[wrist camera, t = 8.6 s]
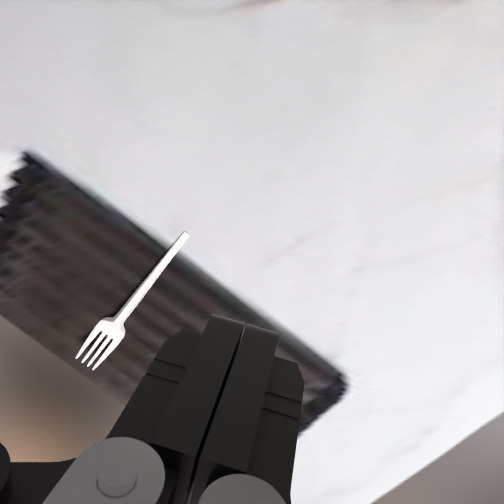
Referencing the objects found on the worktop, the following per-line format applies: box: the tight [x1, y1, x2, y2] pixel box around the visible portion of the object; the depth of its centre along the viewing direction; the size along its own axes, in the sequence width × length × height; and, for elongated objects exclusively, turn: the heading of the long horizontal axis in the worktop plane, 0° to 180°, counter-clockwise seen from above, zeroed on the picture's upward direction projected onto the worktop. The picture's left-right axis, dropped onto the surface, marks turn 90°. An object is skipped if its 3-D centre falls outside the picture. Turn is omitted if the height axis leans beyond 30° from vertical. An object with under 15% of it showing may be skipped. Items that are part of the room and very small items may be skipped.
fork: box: [76, 231, 190, 370], centre depth 47 cm, size 3×20×2 cm, turn 142°
